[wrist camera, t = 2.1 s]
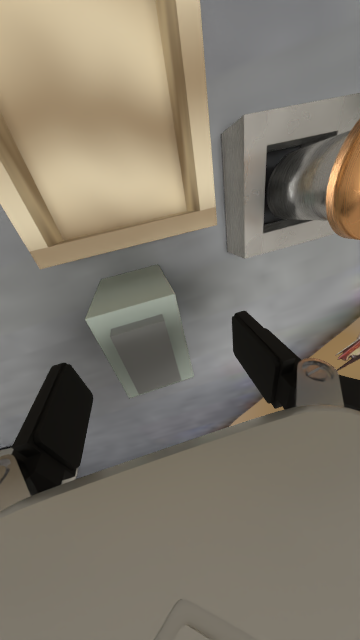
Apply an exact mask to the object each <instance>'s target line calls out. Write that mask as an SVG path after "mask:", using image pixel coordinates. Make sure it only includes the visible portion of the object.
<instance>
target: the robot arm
mask: <svg viewBox="0 0 360 640" xmlns="http://www.w3.org/2000/svg"><path fill="white" fill-rule="evenodd" d="M232 332H233V352H234V354H235V356H236V358H237V359H238V361H239V362H240V364H241V365H242V367H243V368H244V369H245V371H246V372H247V374H248V375H249V377H250V378H251V380H252V381H253V383H254V384H255V385H256V387H257V388H258V390H259V391H260V393H261V394H262V396H263V397H264V399H265V400H266V401H267V403H271V404H272V405H273V406H274V408H279V407H282V406H283V408H284V409H285V410H282V411H278V412H275V413H271V414H268V415H265V416H262V417H259V418H256V419H252V420H249V421H246V422H243V423H240V424H237V425H234V426H231V427H228V428H225V429H222V430H219V431H216V432H213V433H210V434H207V435H204V436H201V437H198V438H195V439H192V440H189V441H186V442H183V443H180V444H177V445H174V446H171V447H168V448H165V449H162V450H160V451H157V452H154V453H151V454H148V455H145V456H142V457H139V458H136V459H133V460H130V461H127V462H124V463H122V464H119V465H116V466H113V467H110V468H107V469H104V470H101V471H98V472H96V473H93V474H90V475H87V476H84V477H81V478H78V479H75V478H76V476H77V473H78V467H79V466H80V463H81V458H82V453H83V448H84V443H85V438H86V433H87V428H88V423H89V418H90V413H91V408H92V403H93V395H92V393H91V391H90V390H89V389H88V387H87V386H86V385H85V383H84V382H83V381H82V379H81V378H80V377H79V375H78V374H77V373H76V371H75V370H74V369H73V367H72V366H71V365H70V364H67V363H61V364H58V365H54V366H52V367H51V369H50V371H49V373H48V375H47V377H46V379H45V381H44V383H43V385H42V387H41V389H40V391H39V393H38V395H37V397H36V399H35V401H34V403H33V405H32V407H31V409H30V411H29V413H28V415H27V417H26V420H25V422H24V424H23V426H22V428H21V430H20V432H19V434H18V436H17V438H16V440H15V442H14V444H13V446H12V448H8V449H3V450H0V640H360V380H357V379H353V378H349V377H345V376H341V375H338V372H337V370H336V369H335V368H334V367H333V366H332V365H330V364H329V363H327V362H325V361H322V360H320V359H315V358H307V359H303V360H301V359H300V358H299V357H298V356H296V355H295V354H294V353H293V352H292V351H291V350H290V349H289V348H288V347H287V346H285V345H284V344H283V343H282V342H281V341H280V340H279V339H278V338H277V337H276V336H275V335H273V334H272V333H271V332H270V331H269V330H268V329H266V328H263V327H262V326H261V325H260V324H259V323H258V322H257V321H256V320H255V319H254V318H253V317H252V316H251V315H249V314H248V313H247V312H246V311H241V312H238V313H235V315H234V316H233V317H232Z"/></svg>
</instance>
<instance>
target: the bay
mask: <svg viewBox="0 0 360 640" xmlns="http://www.w3.org/2000/svg"><path fill="white" fill-rule="evenodd" d="M0 204H1V206H2V207H3V209H4V211H5V212H6V214H7V216H8V217H9V219H10V220H11V222H12V224H13V225H14V227H15V229H16V230H17V232H18V234H19V235H20V237H21V239H22V240H23V242H24V243H25V245H26V247H27V248H28V250H29V252H30V253H31V255H32V257H33V258H34V260H35V262H36V263H37V265H38V266H39V268H40V269H43V268H47V267H51V266H55V265H59V264H63V263H67V262H71V261H75V260H79V259H83V258H87V257H91V256H95V255H99V254H103V253H107V252H111V251H115V250H119V249H123V248H127V247H131V246H135V245H139V244H143V243H147V242H151V241H155V240H159V239H163V238H167V237H171V236H175V235H179V234H183V233H187V232H191V231H195V230H199V229H203V228H207V227H211V226H215V225H217V218H216V205H215V192H214V179H213V166H212V153H211V140H210V127H209V114H208V101H207V88H206V75H205V62H204V49H203V36H202V24H201V11H200V0H0Z"/></svg>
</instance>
